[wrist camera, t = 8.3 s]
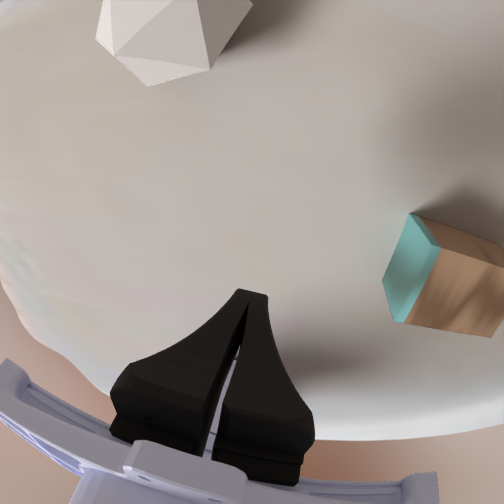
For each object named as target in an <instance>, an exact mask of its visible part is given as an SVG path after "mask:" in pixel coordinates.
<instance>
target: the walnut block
mask: <svg viewBox="0 0 504 504" xmlns="http://www.w3.org/2000/svg"><path fill="white" fill-rule="evenodd" d="M382 282H383V286H384V289H385V292H386V296H387V299H388V303H389V306H390V310H391V313H392V317H393V321H396V322H401V323H406V324H412V325H417V326H423V327H428V328H434V329H440V330H446V331H452V332H458V333H464V334H470V335H476V336H483V337H489V338H491V337H492V335H493V334H494V332H495V331H496V329H497V328H498V327H499V325H500V324H501V322H502V321H503V319H504V249H503V248H502V247H501V246H500V245H498V244H495V243H493V242H490V241H488V240H485V239H482V238H480V237H477V236H474V235H472V234H469V233H466V232H463V231H460V230H458V229H455V228H452V227H449V226H446V225H443V224H440V223H437V222H434V221H431V220H428V219H425V218H422V217H419V216H416V215H413V214H409V215H408V218H407V221H406V223H405V226H404V228H403V231H402V234H401V236H400V239H399V241H398V244H397V246H396V249H395V251H394V254H393V256H392V258H391V261H390V263H389V265H388V268H387V270H386V272H385V275H384V277H383V279H382Z"/></svg>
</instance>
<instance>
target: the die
mask: <svg viewBox="0 0 504 504" xmlns="http://www.w3.org/2000/svg"><path fill="white" fill-rule="evenodd" d="M253 5H254V4H253V3H252V2H251V1H250V0H104V1H103V5H102V9H101V14H100V18H99V23H98V29H97V34H96V40H97V41H98V42H99V43H100V44H101V45H102V46H104V47H105V48H106V49H107V50H108V51H109V52H110V53H111V54H112V55H113V56H114V57H115V58H117V59H118V60H119V61H120V62H121V63H122V64H123V65H124V66H125V67H126V68H128V69H129V70H130V71H131V72H132V73H133V74H134V75H135V76H136V77H137V78H138V79H139V80H140V81H142V82H143V83H144V84H145V85H146V86H147V87H150V86H153V85H156V84H159V83H163V82H166V81H169V80H173V79H176V78H180V77H184V76H187V75H191V74H195V73H199V72H203V71H208V70H210V69H211V68H212V66H213V65H214V63H215V61H216V60H217V58H218V56H219V55H220V53H221V52H222V50H223V49H224V47H225V45H226V44H227V42H228V41H229V39H230V38H231V36H232V35H233V33H234V32H235V30H236V29H237V27H238V26H239V24H240V23H241V22H242V20H243V19H244V17H245V16H246V14H247V13H248V12H249V10H250V9H251V7H252V6H253Z"/></svg>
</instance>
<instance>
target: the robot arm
mask: <svg viewBox="0 0 504 504" xmlns="http://www.w3.org/2000/svg"><path fill="white" fill-rule="evenodd" d="M239 346H240V350H239V355H238V358H237V360H234V359H235V356H236V354H237V351H238V349H239ZM110 397H111V400H112V402H113V405H114V407H115V410H116V412H117V415H116V417H115V419H114V420H113V422H112V424H111V425H110V424H108V423H106V422H104V421H102V420H100V419H97V418H95V417H93V416H91V415H89V414H87V413H85V412H84V411H82V410H79V409H78V408H76V407H74V406H72V405H70V404H69V403H66V402H65V401H63V400H61V399H60V398H58V397H56V396H55V395H53V394H51V393H49V392H48V391H46V390H44V389H43V388H41V387H40V386H38V385H37V384H35V383H33V382H32V381H31V379H30V378H29V375H28V374H27V373H26V371H25V370H24V369H23V368H21V367H20V366H19V365H17V364H16V363H14V362H13V361H11V360H10V359H8V358H6V359H5V360H4V361H3V363H2V364H1V365H0V420H1V421H2V422H3V423H4V424H6V425H7V426H8V427H9V428H11V429H12V430H13V431H14V432H16V433H17V434H18V435H19V436H21V437H22V438H23V439H25V440H26V441H27V442H29V443H30V444H31V445H33V446H34V447H35V448H37V449H38V450H39V451H41V452H42V453H44V454H45V455H46V456H48V457H49V458H51V459H52V460H54V461H55V462H57V463H58V464H60V465H61V466H63V467H64V468H66V469H68V470H69V471H71V472H72V473H74V474H76V475H77V476H79V477H81V479H80V481H79V483H78V485H77V487H76V489H75V491H74V493H73V495H72V498H71V500H70V502H69V504H439V490H438V480H437V472H425V473H415V474H411V475H409V476H407V477H405V478H404V479H402V480H401V481H375V482H361V481H359V482H358V481H334V480H319V479H309V478H300V477H299V475H300V467H301V465H302V464H303V459H304V454H305V453H306V452H307V451H308V449H309V448H310V447H311V446H312V445H313V443H314V441H315V427H314V420H313V415H312V412H311V410H310V409H309V408H308V406H307V405H306V404H305V402H304V401H303V400H302V398H301V397H300V395H299V393H298V392H297V390H296V389H295V387H294V385H293V383H292V382H291V380H290V378H289V376H288V374H287V372H286V370H285V368H284V366H283V363H282V361H281V359H280V356H279V353H278V351H277V348H276V345H275V341H274V338H273V334H272V330H271V325H270V320H269V313H268V297H267V295H265V294H260V293H256V292H252V291H248V290H244V289H240V288H239V289H237V290H236V291H235V293H234V294H233V295H232V297H231V298H230V299H229V300H228V301H227V302H226V304H225V305H224V306H223V307H222V308H221V309H220V310H219V311H218V312H217V313H216V314H215V315H214V316H213V317H212V318H210V319H209V320H208V321H207V322H206V323H205V324H203V325H202V326H201V327H200V328H198V329H197V330H196V331H195V332H193V333H192V334H190V335H189V336H187V337H186V338H184V339H183V340H181V341H179V342H178V343H176V344H174V345H173V346H171V347H169V348H167V349H165V350H163V351H161V352H158V353H156V354H154V355H152V356H150V357H147V358H144V359H141V360H139V361H136V362H133V363H130V364H129V365H128V366H127V367H126V368H125V369H124V371H123V372H122V373H121V374H120V376H119V377H118V379H117V380H116V382H115V384H114V386H113V387H112V389H111V391H110Z"/></svg>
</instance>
